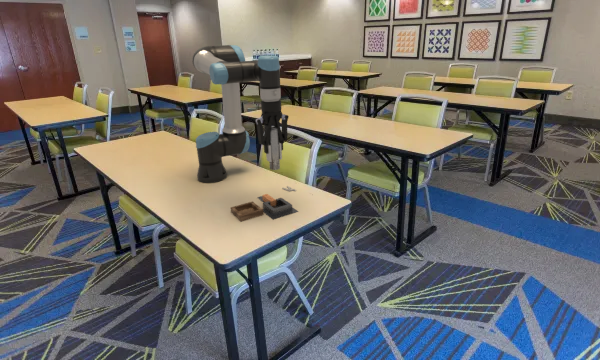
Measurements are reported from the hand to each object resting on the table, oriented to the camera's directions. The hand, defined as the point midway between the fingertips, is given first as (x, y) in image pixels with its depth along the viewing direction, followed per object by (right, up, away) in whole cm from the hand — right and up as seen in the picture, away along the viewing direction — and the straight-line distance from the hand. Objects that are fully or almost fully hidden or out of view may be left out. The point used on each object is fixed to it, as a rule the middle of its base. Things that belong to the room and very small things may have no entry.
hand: (274, 159), depth 140 cm
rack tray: (-11, -22, +5) cm, 26 cm away
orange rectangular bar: (-3, -19, +14) cm, 23 cm away
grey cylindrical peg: (0, -3, +1) cm, 4 cm away
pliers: (+8, -15, +24) cm, 29 cm away
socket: (-2, -20, +12) cm, 23 cm away
